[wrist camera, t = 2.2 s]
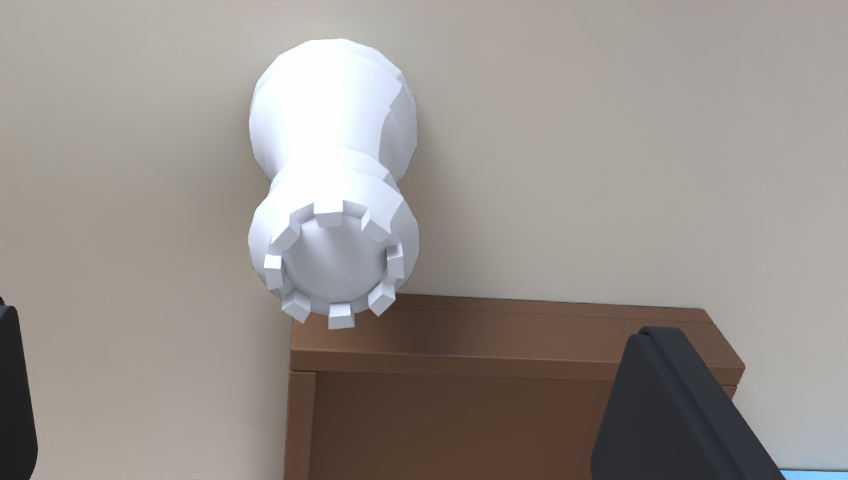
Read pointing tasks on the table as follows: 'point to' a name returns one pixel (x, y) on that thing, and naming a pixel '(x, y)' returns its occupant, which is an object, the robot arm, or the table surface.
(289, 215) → the rook chess piece
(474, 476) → the tray
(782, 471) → the chair
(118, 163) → the table surface
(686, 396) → the robot arm
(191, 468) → the table surface
